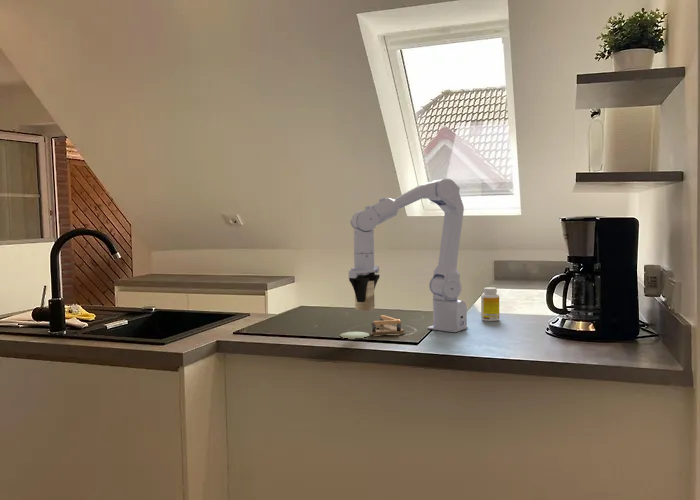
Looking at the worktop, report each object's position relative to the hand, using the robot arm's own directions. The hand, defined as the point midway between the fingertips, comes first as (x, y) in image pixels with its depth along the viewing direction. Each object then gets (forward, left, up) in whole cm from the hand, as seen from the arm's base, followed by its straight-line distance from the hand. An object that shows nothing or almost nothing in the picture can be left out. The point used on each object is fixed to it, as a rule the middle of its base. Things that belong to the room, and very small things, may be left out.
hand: (364, 300), depth 166 cm
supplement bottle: (-19, -40, -10) cm, 45 cm away
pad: (+2, +2, -10) cm, 10 cm away
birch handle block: (0, 0, -2) cm, 2 cm away
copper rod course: (-3, -6, -10) cm, 12 cm away
